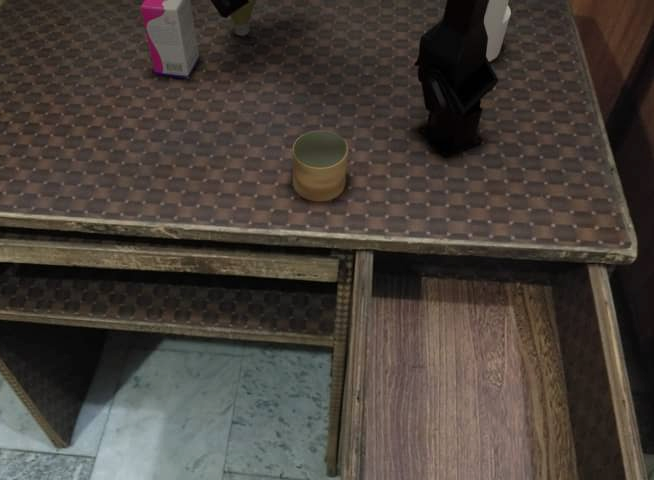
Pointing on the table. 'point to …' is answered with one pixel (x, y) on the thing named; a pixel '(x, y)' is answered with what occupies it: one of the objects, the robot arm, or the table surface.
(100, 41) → the table surface
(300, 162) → the tan cup
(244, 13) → the light bulb
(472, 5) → the robot arm
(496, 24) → the drinking glass
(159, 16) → the supplement box
